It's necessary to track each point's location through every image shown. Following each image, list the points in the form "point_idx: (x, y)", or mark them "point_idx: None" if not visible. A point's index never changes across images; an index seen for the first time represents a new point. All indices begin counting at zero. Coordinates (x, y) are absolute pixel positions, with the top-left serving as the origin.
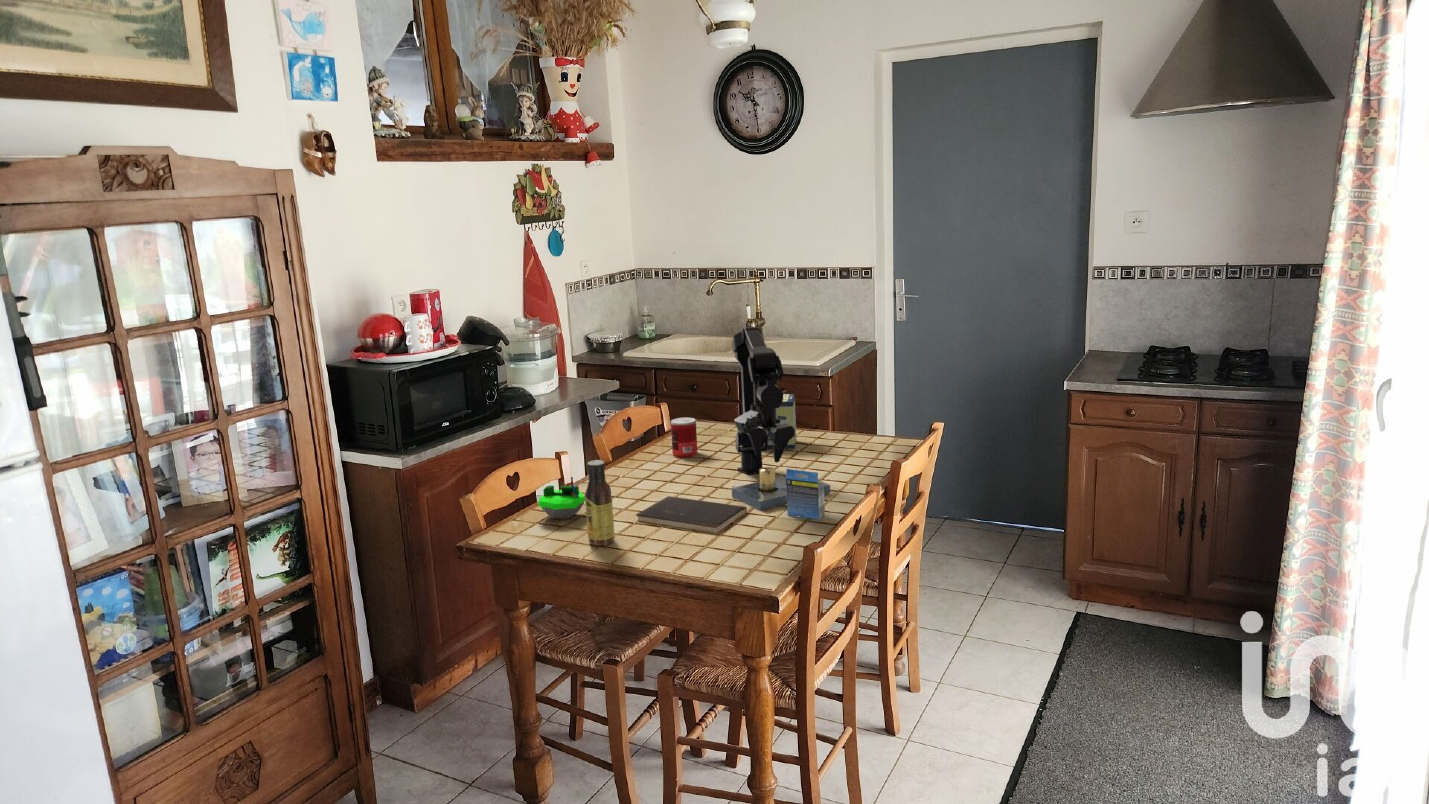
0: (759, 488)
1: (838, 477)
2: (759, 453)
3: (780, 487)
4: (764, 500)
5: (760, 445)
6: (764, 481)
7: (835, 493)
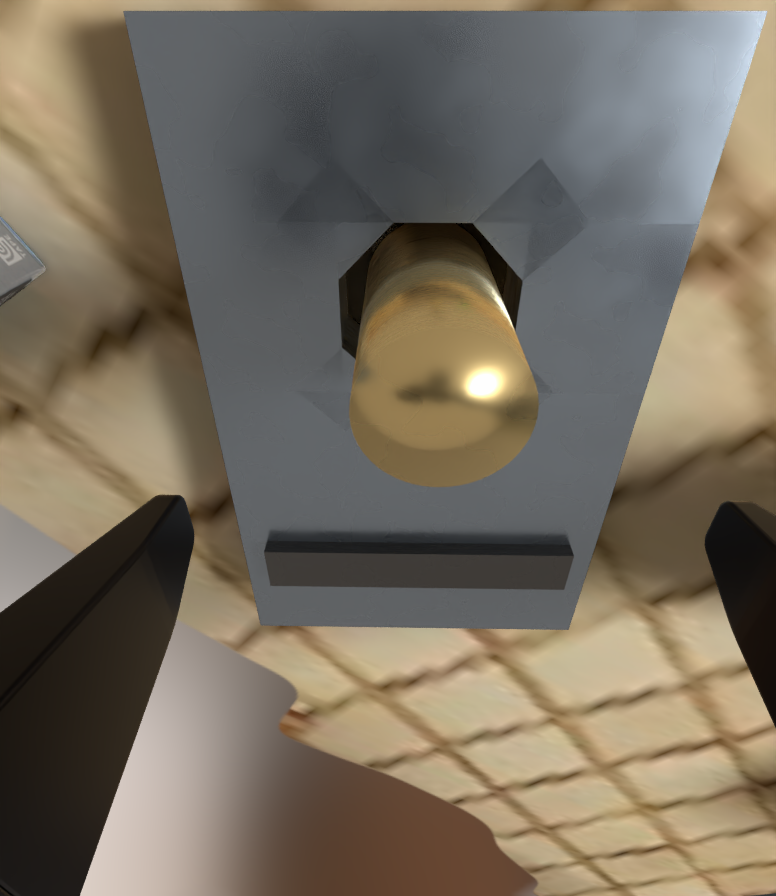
0: (521, 278)
1: (464, 699)
2: (708, 551)
3: None
4: (140, 82)
5: (771, 682)
6: (390, 292)
7: None
